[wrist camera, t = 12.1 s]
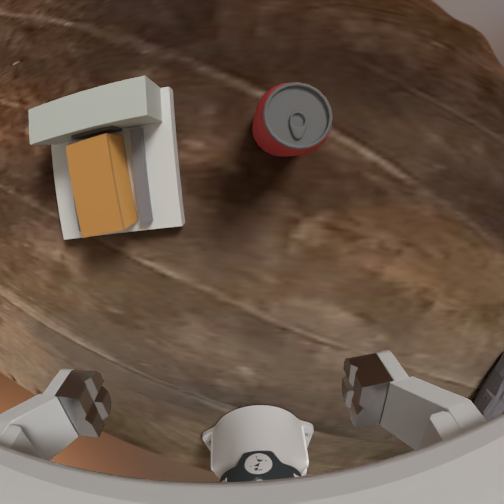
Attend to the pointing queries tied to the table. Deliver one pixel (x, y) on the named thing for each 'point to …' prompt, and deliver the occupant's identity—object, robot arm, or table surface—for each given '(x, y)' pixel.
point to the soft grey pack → (492, 393)
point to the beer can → (292, 120)
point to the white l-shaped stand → (136, 145)
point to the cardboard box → (101, 184)
